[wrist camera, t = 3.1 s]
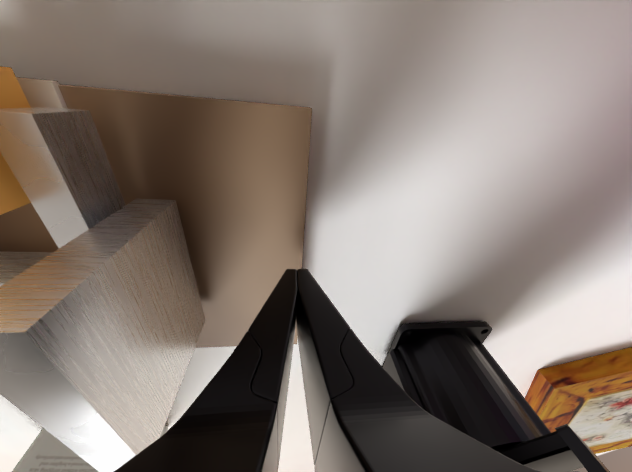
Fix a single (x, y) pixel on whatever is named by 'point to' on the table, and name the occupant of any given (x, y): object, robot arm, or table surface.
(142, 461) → the robot arm
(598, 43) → the table surface
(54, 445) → the skincare box
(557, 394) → the picture frame
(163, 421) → the gray t-shaped beam
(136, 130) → the base
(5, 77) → the orange block
